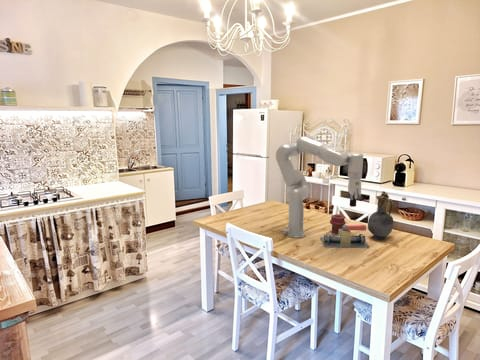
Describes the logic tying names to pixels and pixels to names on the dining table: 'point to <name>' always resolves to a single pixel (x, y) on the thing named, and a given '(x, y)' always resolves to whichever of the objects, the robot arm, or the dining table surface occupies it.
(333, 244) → the valve body
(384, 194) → the pitcher
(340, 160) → the robot arm
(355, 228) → the lever
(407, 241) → the dining table surface
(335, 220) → the mechanical component
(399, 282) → the dining table surface
